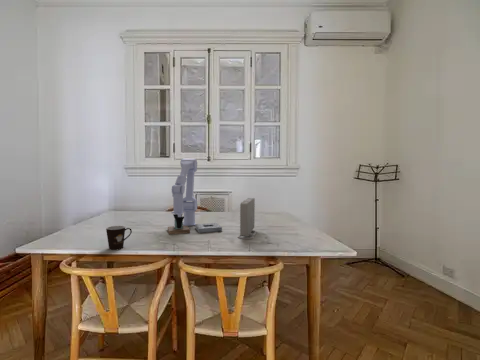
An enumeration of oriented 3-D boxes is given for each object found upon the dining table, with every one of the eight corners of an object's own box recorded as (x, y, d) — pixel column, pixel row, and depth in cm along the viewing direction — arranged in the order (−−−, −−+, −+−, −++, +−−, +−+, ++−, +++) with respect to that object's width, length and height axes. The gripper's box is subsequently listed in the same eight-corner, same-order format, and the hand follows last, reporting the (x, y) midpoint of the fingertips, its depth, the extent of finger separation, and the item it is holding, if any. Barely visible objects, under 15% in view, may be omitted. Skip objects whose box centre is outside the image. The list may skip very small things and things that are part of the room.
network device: (251, 240, 160) (251, 203, 159) (235, 239, 162) (235, 202, 160) (258, 230, 185) (258, 197, 184) (244, 229, 187) (244, 197, 185)
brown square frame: (167, 229, 185) (167, 226, 185) (187, 228, 189) (187, 225, 189) (169, 234, 174) (169, 230, 174) (189, 232, 177) (189, 229, 177)
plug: (174, 231, 182) (174, 219, 182) (182, 230, 184) (181, 219, 183) (175, 232, 179) (174, 220, 179) (182, 231, 180) (182, 220, 180)
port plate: (195, 228, 191) (195, 224, 191) (216, 226, 195) (216, 222, 195) (198, 232, 177) (198, 228, 177) (221, 231, 182) (221, 227, 181)
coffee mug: (106, 251, 140) (105, 230, 140) (106, 246, 148) (106, 226, 148) (132, 248, 145) (132, 228, 144) (131, 244, 153) (131, 224, 152)
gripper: (170, 203, 186) (170, 224, 187) (172, 206, 172) (172, 229, 173) (182, 202, 188) (182, 224, 189) (184, 205, 174) (185, 229, 175)
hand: (178, 226), depth 181 cm, fingers open, 7 cm apart
